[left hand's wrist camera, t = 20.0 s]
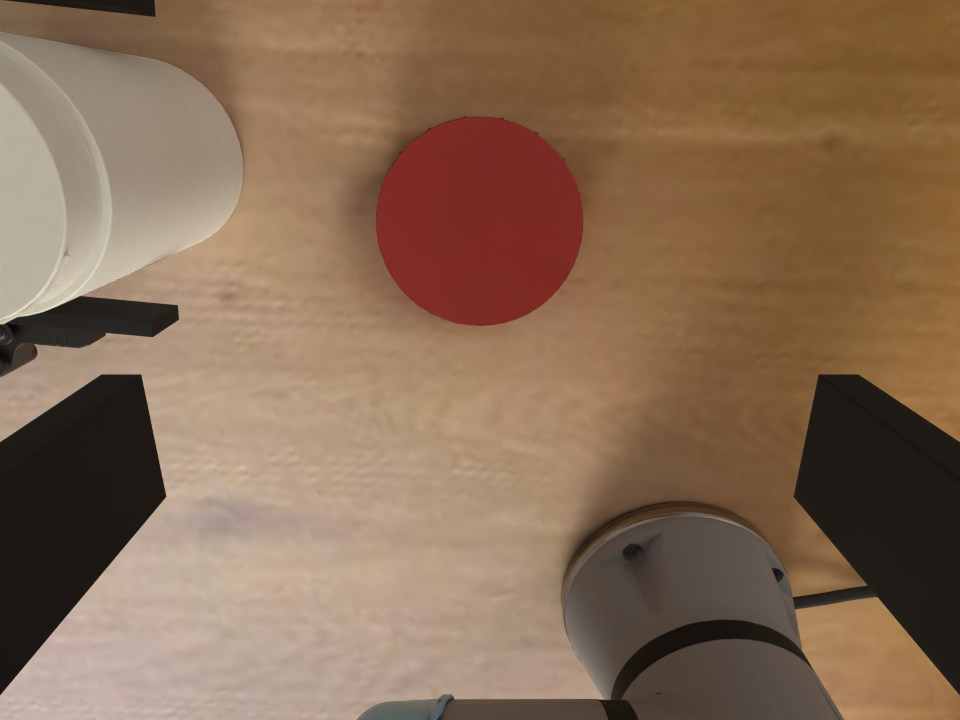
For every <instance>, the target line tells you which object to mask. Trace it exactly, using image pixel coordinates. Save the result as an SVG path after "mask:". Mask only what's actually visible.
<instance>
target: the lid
mask: <svg viewBox="0 0 960 720" xmlns="http://www.w3.org/2000/svg"><path fill="white" fill-rule="evenodd" d="M428 130H429V131H427V132H425V133H424V134H422V135H421V136H419V137H418V138H417V139H415V140H414V141H413V142H412V143H411V144H410V145H409V146H408V147H407V148H406V149H405V150H403V151H402V152H400V153H399V154H400V155H399V157H398V158H397V159H396V161H395V162H394V163H393V165H392V167H391V169H390V170H389V172H388V174H387V176H386V178H385V181H384V183H383V184H382V186H381V187H382V188H381V192H380V196H379V199H378V205H377V213H376V230H377V237H378V243H379V247H380V251H381V255H382V257H383V260H384V262H385V265H386V267H387V269H388V271H389V272H390V274H391V276H392V278H393V279H394V281H395V282H396V283H397V285H398V286H399V287H400V289H401V290H402V291H403V292H404V293H405V294H406V295H407V296H408V297H409V298H410V299H411V300H412V301H413V302H415V303H416V304H417V305H418V306H420V307H421V308H423V309H424V310H426V311H427V312H429V313H431V314H433V315H435V316H437V317H439V318H441V319H444V320H447V321H450V322H453V323H458V324H463V325H472V326H487V325H496V324H501V323H506V322H509V321H512V320H515V319H518V318H520V317H522V316H524V315H526V314H529V313H530V312H532V311H533V310H535V309H537V308H538V307H540V306H541V305H542V304H543V303H545V302H546V301H547V300H548V299H550V298H551V297H552V295H553V294H554V293H555V292H556V291H557V290H558V289H559V288H560V286H561V285H562V284H563V282H564V281H565V280H566V278H567V277H568V275H569V273H570V271H571V269H572V267H573V265H574V263H575V260H576V258H577V255H578V252H579V248H580V244H581V240H582V231H583V211H582V204H581V198H580V193H579V191H578V187H577V185H576V182H575V180H574V178H573V175H572V173H571V171H570V170H569V168H568V166H567V165H566V163H565V160H564V159H563V158H561V156H560V155H559V154H558V153H557V151H556V150H555V149H554V148H553V147H552V146H551V145H550V144H548V143H547V142H546V141H545V140H544V139H543V138H541V137H540V136H538V133H537V132H533V131H531V130H529V129H527V128H525V127H523V126H521V125H518V124H516V123H513V122H510V121H507V120H504V118H502V117H501V119H497V118H491V117H469V118H467V116H464V118H462V119H457V120H452V121H449V122H446V123H444V124H441V125H438V126H436V127H434V128H429V129H428Z"/></svg>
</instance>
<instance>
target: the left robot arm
mask: <svg viewBox="0 0 960 720" xmlns="http://www.w3.org/2000/svg"><path fill="white" fill-rule="evenodd" d="M165 498H166V493H165V488H164V483H163V478H162V473H161V469H160V464H159V459H158V454H157V449H156V444H155V439H154V434H153V430H152V425H151V420H150V415H149V410H148V405H147V400H146V395H145V391H144V386H143V381H142V376H141V375H100V376H99V377H97V378H96V379H94V380H93V381H91V382H90V383H88V384H87V385H85V386H84V387H82V388H81V389H79V390H78V391H76V392H75V393H73V394H72V395H70V396H69V397H67V398H66V399H64V400H63V401H61V402H60V403H58V404H57V405H55V406H54V407H52V408H51V409H49V410H48V411H46V412H45V413H43V414H42V415H40V416H39V417H37V418H36V419H34V420H33V421H31V422H30V423H28V424H27V425H25V426H24V427H22V428H21V429H19V430H18V431H16V432H15V433H13V434H12V435H10V436H9V437H7V438H6V439H4V440H3V441H1V442H0V695H1V694H2V692H3V691H4V690H5V689H6V688H7V686H8V685H9V684H10V683H11V682H12V680H13V679H14V678H15V677H16V676H17V674H18V673H19V672H20V671H21V670H22V668H23V667H24V666H25V665H26V664H27V663H28V661H29V660H30V659H31V658H32V657H33V655H34V654H35V653H36V652H37V651H38V649H39V648H40V647H41V646H42V645H43V643H44V642H45V641H46V640H47V639H48V637H49V636H50V635H51V634H52V633H53V631H54V630H55V629H56V628H57V627H58V625H59V624H60V623H61V622H62V621H63V620H64V618H65V617H66V616H67V615H68V614H69V612H70V611H71V610H72V609H73V608H74V606H75V605H76V604H77V603H78V602H79V600H80V599H81V598H82V597H83V596H84V594H85V593H86V592H87V591H88V590H89V588H90V587H91V586H92V585H93V584H94V582H95V581H96V580H97V579H98V578H99V577H100V575H101V574H102V573H103V572H104V571H105V569H106V568H107V567H108V566H109V565H110V563H111V562H112V561H113V560H114V559H115V557H116V556H117V555H118V554H119V553H120V551H121V550H122V549H123V548H124V547H125V545H126V544H127V543H128V542H129V541H130V539H131V538H132V537H133V536H134V535H135V534H136V532H137V531H138V530H139V529H140V528H141V526H142V525H143V524H144V523H145V522H146V520H147V519H148V518H149V517H150V516H151V514H152V513H153V512H154V511H155V510H156V508H157V507H158V506H159V505H160V504H161V502H162V501H163V500H164V499H165ZM794 498H795V499H796V500H797V501H798V502H799V504H800V505H801V506H802V507H803V508H804V510H805V511H806V512H807V513H808V514H809V516H810V517H811V518H812V519H813V520H814V522H815V523H816V524H817V525H818V526H819V528H820V529H821V530H822V531H823V532H824V534H825V535H826V536H827V537H828V538H829V539H830V541H831V542H832V543H833V544H834V545H835V547H836V548H837V549H838V550H839V551H840V553H841V554H842V555H843V556H844V557H845V559H846V560H847V561H848V562H849V563H850V565H851V566H852V567H853V568H854V569H855V571H856V572H857V573H858V574H859V575H860V577H861V578H862V579H863V580H864V581H865V582H866V584H867V585H868V586H864V587H856V588H849V589H842V590H837V591H831V592H825V593H819V594H813V595H806V596H799V597H792V591H791V587H790V583H789V580H788V577H787V574H786V571H785V568H784V566H783V564H782V562H781V560H780V559H779V557H778V556H777V554H776V553H775V551H774V550H773V548H772V547H771V545H770V544H769V542H768V541H767V539H766V538H765V537H764V536H763V535H762V533H761V532H760V531H759V530H758V529H757V528H756V527H754V526H753V525H752V524H751V523H749V522H748V521H747V520H745V519H744V518H742V517H740V516H738V515H736V514H734V513H732V512H730V511H728V510H725V509H722V508H719V507H716V506H711V505H707V504H700V503H690V502H675V503H664V504H658V505H653V506H648V507H645V508H641V509H638V510H635V511H633V512H630V513H627V514H625V515H623V516H621V517H619V518H617V519H615V520H613V521H612V522H610V523H608V524H607V525H605V526H604V527H603V528H601V529H600V530H598V531H597V532H596V533H595V534H594V535H592V536H591V537H590V538H589V539H588V540H587V541H586V542H585V543H584V544H583V546H582V547H581V548H580V549H579V551H578V552H577V553H576V555H575V556H574V558H573V559H572V561H571V563H570V565H569V567H568V569H567V572H566V575H565V577H564V581H563V585H562V593H561V604H562V612H563V618H564V624H565V629H566V633H567V636H568V639H569V641H570V644H571V645H572V648H573V650H574V652H575V654H576V656H577V657H578V659H579V660H580V662H581V663H582V664H583V665H584V667H585V669H586V670H587V672H588V674H589V676H590V677H591V679H592V681H593V682H594V684H595V686H596V687H597V689H598V691H599V692H600V694H601V695H602V697H603V699H604V700H598V699H467V700H454V697H453V696H452V695H442V696H441V697H440V698H439V699H431V700H414V701H397V702H385V703H380V704H378V705H375V706H373V707H371V708H369V709H368V710H366V711H365V712H364V713H363V714H362V715H361V716H360V717H359V718H358V719H357V720H844V719H843V717H842V715H841V714H840V712H839V710H838V709H837V707H836V706H835V704H834V702H833V701H832V699H831V697H830V696H829V694H828V692H827V691H826V689H825V688H824V686H823V684H822V683H821V681H820V679H819V678H818V676H817V675H816V673H815V672H814V670H813V668H812V667H811V665H810V663H809V662H808V660H807V658H806V656H805V655H804V653H803V651H802V646H801V641H800V635H799V630H798V624H797V618H796V613H795V609H801V608H808V607H814V606H821V605H827V604H833V603H839V602H844V601H850V600H856V599H864V598H872V597H878V598H879V599H880V600H881V602H882V603H883V604H884V605H885V606H886V608H887V609H888V610H889V611H890V612H891V614H892V615H893V616H894V617H895V618H896V620H897V621H898V622H899V623H900V624H901V625H902V627H903V628H904V629H905V630H906V631H907V633H908V634H909V635H910V636H911V637H912V639H913V640H914V641H915V642H916V643H917V645H918V646H919V647H920V648H921V649H922V651H923V652H924V653H925V654H926V655H927V657H928V658H929V659H930V660H931V661H932V663H933V664H934V665H935V666H936V667H937V668H938V670H939V671H940V672H941V673H942V674H943V676H944V677H945V678H946V679H947V680H948V682H949V683H950V684H951V685H952V686H953V688H954V689H955V690H956V691H957V692H958V694H959V695H960V442H959V441H957V440H956V439H954V438H953V437H951V436H950V435H948V434H947V433H945V432H944V431H942V430H941V429H939V428H938V427H936V426H935V425H933V424H932V423H930V422H929V421H927V420H926V419H924V418H923V417H921V416H920V415H918V414H917V413H915V412H914V411H912V410H911V409H909V408H908V407H906V406H905V405H903V404H902V403H900V402H899V401H897V400H896V399H894V398H893V397H891V396H890V395H888V394H887V393H885V392H884V391H882V390H881V389H879V388H878V387H876V386H875V385H873V384H872V383H870V382H869V381H867V380H866V379H864V378H863V377H861V376H860V375H819V376H818V381H817V386H816V391H815V395H814V400H813V405H812V410H811V415H810V420H809V425H808V430H807V434H806V439H805V444H804V449H803V454H802V459H801V464H800V469H799V473H798V478H797V483H796V488H795V493H794Z"/></svg>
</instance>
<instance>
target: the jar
mask: <svg viewBox="0 0 960 720" xmlns="http://www.w3.org/2000/svg"><path fill="white" fill-rule="evenodd" d="M242 183H243V157H242V151H241V147H240V142H239V139H238V137H237V134H236V131H235V128H234V126H233V124H232V122H231V120H230V118H229V116H228V115H227V113H226V112H225V110H224V108H223V107H222V105H221V104H220V103H219V102H218V100H217V99H216V98H215V97H214V95H213V94H212V93H211V92H210V91H209V90H208V89H207V88H206V87H205V86H204V85H203V84H201V83H200V82H199V81H198V80H196V79H195V78H194V77H193V76H191V75H190V74H188V73H186V72H185V71H183V70H181V69H180V68H178V67H175V66H173V65H171V64H169V63H166V62H163V61H160V60H157V59H152V58H147V57H141V56H136V55H130V54H124V53H119V52H113V51H108V50H102V49H96V48H91V47H85V46H80V45H74V44H68V43H63V42H57V41H52V40H46V39H40V38H35V37H29V36H24V35H18V34H13V33H7V32H1V31H0V324H1V325H2V324H4V323H7V322H8V321H10V320H12V319H14V318H16V317H21V316H28V315H33V314H37V313H41V312H44V311H47V310H49V309H52V308H54V307H57V306H59V305H61V304H63V303H66V302H68V301H70V300H72V299H75V298H77V297H79V296H81V295H84V294H86V293H88V292H90V291H92V290H95V289H97V288H99V287H101V286H104V285H106V284H108V283H110V282H113V281H115V280H117V279H119V278H122V277H124V276H126V275H128V274H130V273H133V272H135V271H137V270H139V269H142V268H144V267H146V266H148V265H151V264H153V263H155V262H157V261H160V260H162V259H164V258H166V257H168V256H171V255H173V254H175V253H177V252H180V251H182V250H184V249H186V248H189V247H191V246H193V245H195V244H198V243H200V242H202V241H204V240H205V239H207V238H209V237H211V236H212V235H213V234H214V233H216V232H217V231H218V230H219V229H220V228H221V227H222V226H223V225H224V224H225V223H226V222H227V221H228V219H229V218H230V216H231V215H232V213H233V211H234V209H235V207H236V205H237V203H238V200H239V197H240V193H241V189H242ZM5 318H6V319H5Z"/></svg>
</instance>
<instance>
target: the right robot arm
mask: <svg viewBox="0 0 960 720" xmlns="http://www.w3.org/2000/svg"><path fill="white" fill-rule="evenodd" d="M7 1H16V2H26V3H35V4H44V5H53V6H62V7H71V8H80V9H89V10H99V11H108V12H117V13H126V14H135V15H144V16H153V17H156V16H155V3H154V0H7ZM5 319H6V318H5ZM177 320H179V315H178V305H169V304H159V303H148V302H137V301H127V300H116V299H105V298H95V297H84V296H79V297H77V298H75V299H72V300H70V301H68V302H66V303H63V304H61V305H59V306H57V307H54V308H52V309H49V310H47V311H44V312H41V313H37V314H33V315H28V316H21V317H16V318H14V319H12V320H10V321H8V322H7V323H4V324H2V325H1V324H0V377H2V376H4V375H6V374H8V373H10V372H12V371H14V370H15V369H17V368H19V367H21V366H23V365H25V364H26V363H28V362H30V361H32V360H34V359H35V358H36V356H37V349H36V347H35V345H34V344H40V345H51V346H62V347H73V348H81V347H84V346H88V345H90V344H92V343H94V342H95V341H97V340H99V339H101V338H102V337H104V336H106V335H105V333H114V334H125V335H136V336H146V337H154V336H155V335H157V334H158V333H160V332H161V331H163V330H164V329H166V328H167V327H169V326H170V325H172V324H173V323H175V322H176V321H177Z"/></svg>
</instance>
